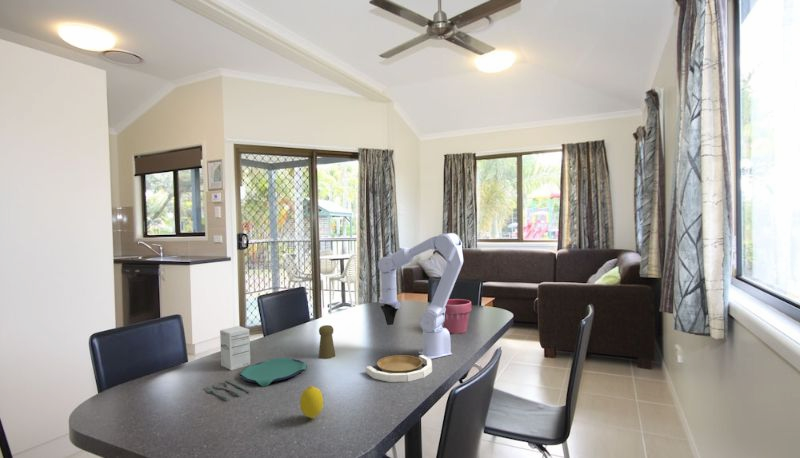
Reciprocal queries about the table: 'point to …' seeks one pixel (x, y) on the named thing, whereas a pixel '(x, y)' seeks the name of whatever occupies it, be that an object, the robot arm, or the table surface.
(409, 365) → the plant saucer
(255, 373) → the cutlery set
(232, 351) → the supplement box
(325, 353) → the cork
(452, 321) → the plant pot
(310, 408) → the lemon
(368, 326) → the table surface
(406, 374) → the centring cradle
